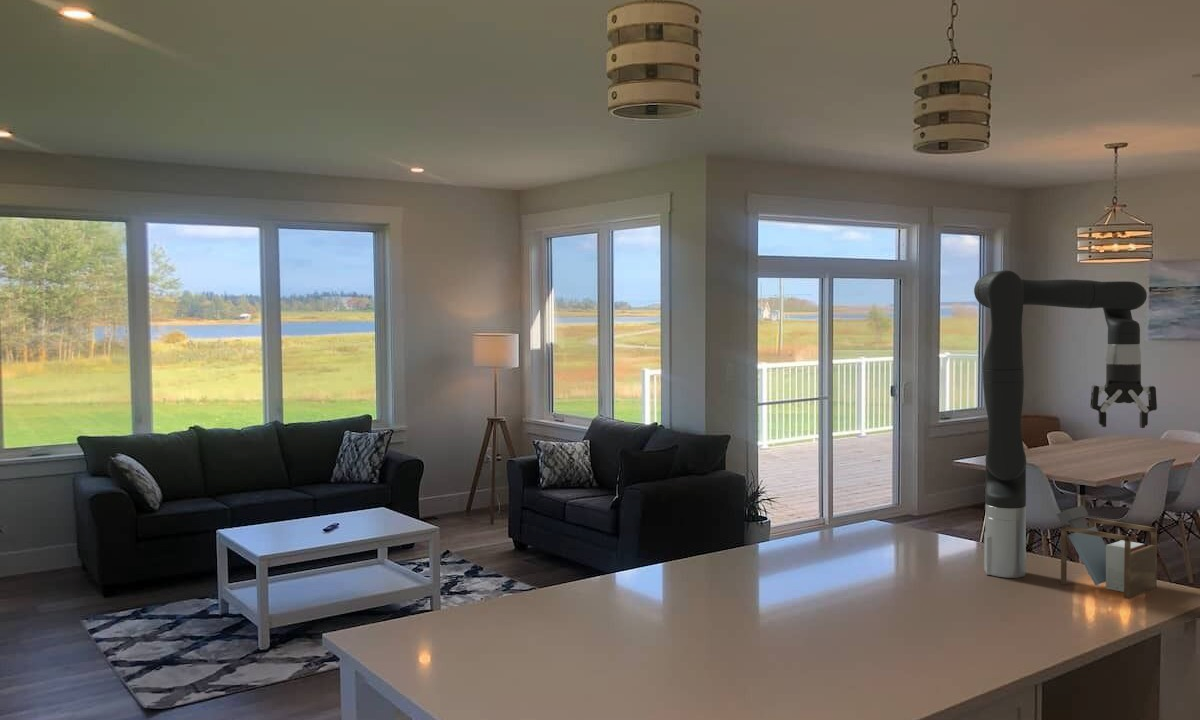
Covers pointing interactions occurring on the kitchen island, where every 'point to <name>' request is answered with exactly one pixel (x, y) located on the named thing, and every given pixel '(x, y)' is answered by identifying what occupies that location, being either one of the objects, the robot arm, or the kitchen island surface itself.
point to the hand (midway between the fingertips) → (1123, 427)
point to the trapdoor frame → (1136, 563)
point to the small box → (1117, 564)
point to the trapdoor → (1086, 544)
